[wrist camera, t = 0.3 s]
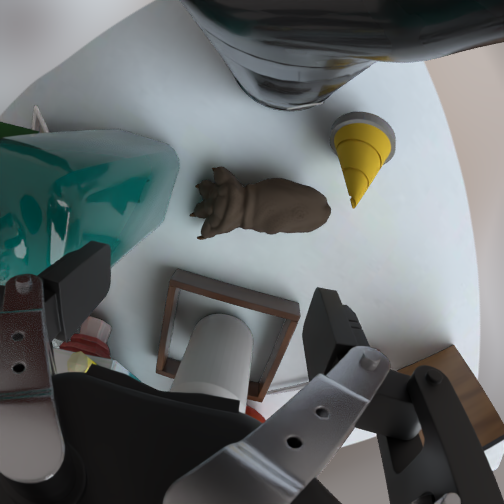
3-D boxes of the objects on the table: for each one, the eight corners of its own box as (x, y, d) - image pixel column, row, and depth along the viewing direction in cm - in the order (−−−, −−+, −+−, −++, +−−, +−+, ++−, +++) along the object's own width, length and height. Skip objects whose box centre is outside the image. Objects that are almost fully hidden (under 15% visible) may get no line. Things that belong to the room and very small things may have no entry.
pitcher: (187, 149, 26) (-21, 205, 6) (161, 235, 29) (6, 401, 9) (96, 121, 26) (-115, 147, 5) (78, 203, 29) (-100, 301, 8)
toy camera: (169, 365, 43) (115, 294, 27) (160, 424, 37) (90, 387, 22) (103, 355, 44) (31, 285, 28) (91, 409, 38) (4, 361, 22)
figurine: (194, 229, 30) (322, 243, 29) (176, 246, 26) (325, 264, 24) (195, 161, 27) (331, 173, 26) (176, 168, 23) (337, 182, 22)
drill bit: (398, 139, 25) (393, 232, 21) (342, 138, 28) (324, 227, 24) (391, 91, 21) (390, 183, 17) (329, 93, 24) (306, 181, 20)
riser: (397, 370, 34) (436, 474, 19) (453, 344, 32) (510, 435, 17) (404, 407, 36) (434, 499, 21) (455, 384, 34) (497, 468, 20)
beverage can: (266, 334, 33) (261, 423, 21) (228, 367, 35) (211, 451, 23) (218, 298, 32) (191, 381, 20) (183, 335, 33) (149, 416, 22)
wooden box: (177, 268, 31) (169, 278, 28) (299, 302, 31) (300, 316, 29) (161, 359, 35) (155, 373, 33) (262, 387, 36) (261, 402, 33)
